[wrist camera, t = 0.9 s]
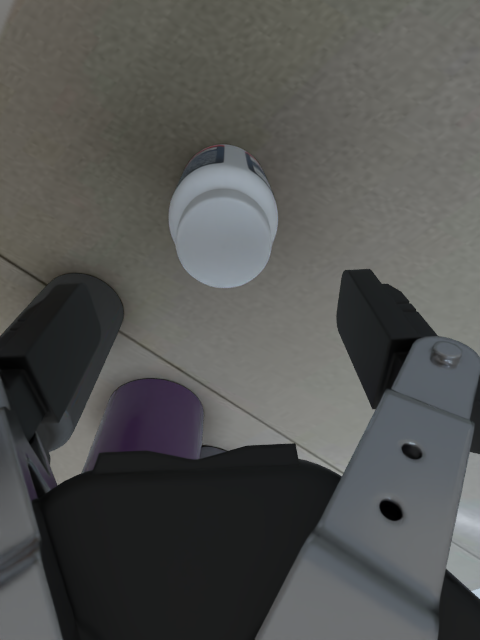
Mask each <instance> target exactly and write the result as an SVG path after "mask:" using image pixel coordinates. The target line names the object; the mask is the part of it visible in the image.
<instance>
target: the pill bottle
mask: <svg viewBox="0 0 480 640" xmlns="http://www.w3.org/2000/svg"><path fill="white" fill-rule="evenodd" d="M277 227H278V211H277V205H276V201H275V198H274V195H273V192H272V190H271V187H270V185H269V182H268V180H267V178H266V176H265V173H264V171H263V169H262V167H261V166H260V164H259V163H258V161H257V160H256V159H255V158H254V157H253V156H252V155H251V154H250V153H248V152H247V151H245V150H243V149H241V148H239V147H236V146H233V145H226V144H219V145H213V146H209V147H207V148H205V149H203V150H201V151H199V152H198V153H197V154H196V155H194V156H193V158H192V159H191V160H190V161H189V163H188V164H187V166H186V167H185V169H184V172H183V174H182V176H181V178H180V181H179V183H178V185H177V187H176V189H175V192H174V194H173V196H172V199H171V202H170V207H169V228H170V233H171V236H172V238H173V241H174V243H175V245H176V251H177V255H178V257H179V260H180V262H181V264H182V265H183V267H184V268H185V270H186V271H187V272H188V273H189V274H190V275H191V276H192V277H193V278H195V279H196V280H198V281H199V282H201V283H203V284H206V285H209V286H211V287H218V288H232V287H237V286H240V285H243V284H245V283H247V282H249V281H251V280H252V279H254V278H255V277H256V276H257V275H258V274H259V273H260V272H261V271H262V270H263V269H264V267H265V265H266V264H267V262H268V260H269V257H270V253H271V248H272V243H273V241H274V239H275V236H276V232H277Z"/></svg>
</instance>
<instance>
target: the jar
mask: <svg viewBox="0 0 480 640" xmlns="http://www.w3.org/2000/svg"><path fill="white" fill-rule="evenodd" d="M203 421H204V410H203V406H202V404H201V402H200V400H199V399H198V398H197V397H196V395H195V394H194V393H192V392H191V391H190V390H188V389H187V388H185V387H183V386H181V385H179V384H177V383H174V382H171V381H167V380H162V379H140V380H135V381H132V382H129V383H126V384H124V385H122V386H121V387H119V388H118V389H117V390H116V391H115V392H114V393H113V394H112V395H111V397H110V399H109V402H108V404H107V407H106V409H105V412H104V415H103V417H102V420H101V423H100V425H99V428H98V431H97V433H96V436H95V439H94V441H93V444H92V446H91V449H90V452H89V454H88V457H87V460H86V462H85V465H84V468H83V470H82V473H84V472H87V471H90V470H93V469H94V466H95V463H96V460H97V457H98V455H99V453H102V452H123V451H145V450H148V451H153V452H158V453H163V454H168V455H173V456H178V457H183V458H188V459H201V448H202V435H203ZM82 473H81V474H82Z"/></svg>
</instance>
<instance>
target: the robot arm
mask: <svg viewBox="0 0 480 640" xmlns="http://www.w3.org/2000/svg"><path fill="white" fill-rule="evenodd" d="M337 328H338V331H339V334H340V336H341V339H342V341H343V343H344V345H345V348H346V350H347V352H348V354H349V357H350V359H351V361H352V363H353V366H354V368H355V370H356V373H357V375H358V377H359V379H360V382H361V384H362V386H363V388H364V391H365V393H366V395H367V397H368V400H369V402H370V404H371V407H372V409H376V410H375V412H374V414H373V416H372V418H371V420H370V422H369V424H368V426H367V428H366V430H365V432H364V434H363V436H362V438H361V440H360V442H359V444H358V446H357V448H356V450H355V452H354V454H353V456H352V458H351V460H350V462H349V464H348V466H347V468H346V470H345V472H344V473H343V475H342V476H340V475H338V474H337V473H335V472H333V471H331V470H330V469H327V468H325V467H323V466H321V465H318V464H315V463H312V462H309V461H306V460H301V459H298V455H297V450H296V444H273V445H252V446H244V447H241V448H237V449H234V450H230V451H227V452H223V453H219V454H216V455H212V456H209V457H205V458H202V459H188V458H183V457H178V456H173V455H168V454H163V453H158V452H153V451H148V450H145V451H123V452H102V453H99V455H98V457H97V460H96V463H95V466H94V469H93V470H90V471H87V472H84V473H82V474H79V475H76V476H74V477H72V478H70V479H68V480H66V481H64V482H63V483H61V484H59V485H58V486H57V483H56V481H55V478H54V475H53V473H52V470H51V467H50V464H49V462H48V459H47V456H46V454H45V451H44V448H43V445H42V443H41V440H40V438H39V436H38V434H37V433H36V430H37V428H38V426H39V424H44V423H59V422H60V420H61V418H62V416H63V414H64V412H65V410H66V408H67V406H68V404H69V402H70V401H71V399H72V397H73V395H74V393H75V391H76V389H77V387H78V385H79V383H80V381H81V379H82V377H83V375H84V373H85V371H86V369H87V367H88V365H89V363H90V361H91V359H92V357H93V355H94V353H95V351H96V349H97V347H98V345H99V343H100V341H101V325H100V321H99V318H98V315H97V312H96V309H95V306H94V303H93V300H92V297H91V294H90V291H89V288H88V287H87V285H86V284H85V283H63V284H57V285H56V286H55V287H54V288H53V289H52V290H51V291H50V293H49V294H48V295H47V296H46V297H45V298H44V299H43V300H41V301H40V302H38V303H36V304H35V305H33V306H32V307H30V308H28V309H27V310H26V311H25V312H24V313H23V314H22V315H21V317H20V318H19V319H18V322H15V323H14V324H13V325H12V326H11V328H10V331H7V332H6V333H5V334H4V335H3V336H2V337H1V339H0V640H480V599H479V598H478V597H477V596H475V594H473V593H472V592H471V591H470V590H469V589H468V588H467V587H466V586H465V585H464V584H462V583H461V582H460V581H459V580H458V579H457V578H456V577H455V576H454V575H452V574H451V573H450V572H449V571H448V570H447V569H446V565H447V560H448V555H449V551H450V546H451V541H452V536H453V531H454V526H455V521H456V516H457V511H458V506H459V502H460V497H461V492H462V487H463V482H464V477H465V472H466V467H467V462H468V457H469V453H470V452H473V453H478V454H480V357H479V356H478V354H477V353H476V352H475V351H474V350H472V349H471V348H470V347H468V346H467V345H465V344H463V343H461V342H459V341H456V340H453V339H450V338H446V337H439V336H438V335H437V334H436V333H435V332H434V331H433V329H432V328H431V327H430V326H429V325H428V323H427V322H426V321H425V320H424V319H423V317H422V316H421V315H420V314H419V313H418V312H416V309H415V308H414V307H413V305H412V304H409V301H408V299H407V298H406V297H405V296H404V295H403V293H402V292H401V291H399V290H397V289H396V288H394V287H392V286H390V285H389V284H381V282H380V281H379V280H378V279H377V277H376V276H375V275H374V273H373V272H372V271H371V270H370V269H359V270H345V271H344V272H343V274H342V278H341V286H340V293H339V300H338V307H337Z"/></svg>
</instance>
